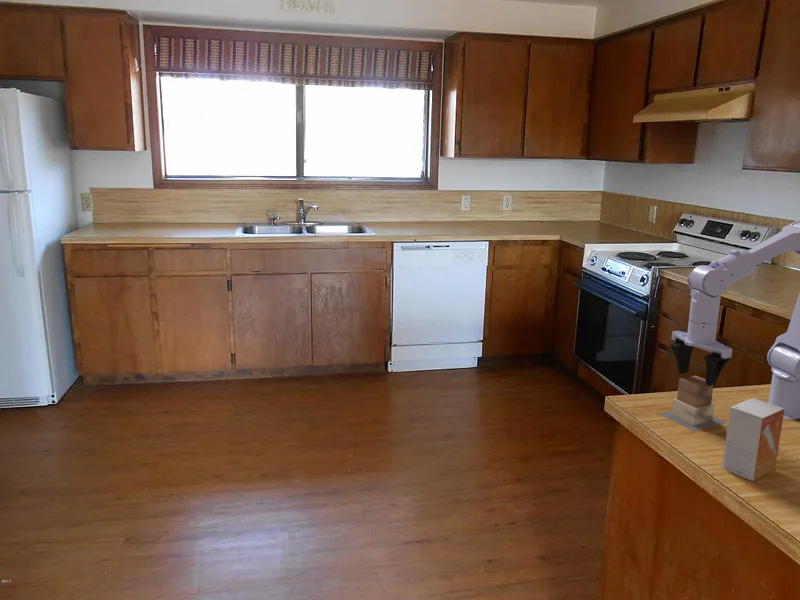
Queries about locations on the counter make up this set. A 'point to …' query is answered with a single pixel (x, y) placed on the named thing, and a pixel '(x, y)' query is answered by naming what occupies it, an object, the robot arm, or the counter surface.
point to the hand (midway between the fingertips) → (696, 378)
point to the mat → (689, 426)
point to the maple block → (692, 412)
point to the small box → (753, 438)
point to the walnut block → (694, 391)
